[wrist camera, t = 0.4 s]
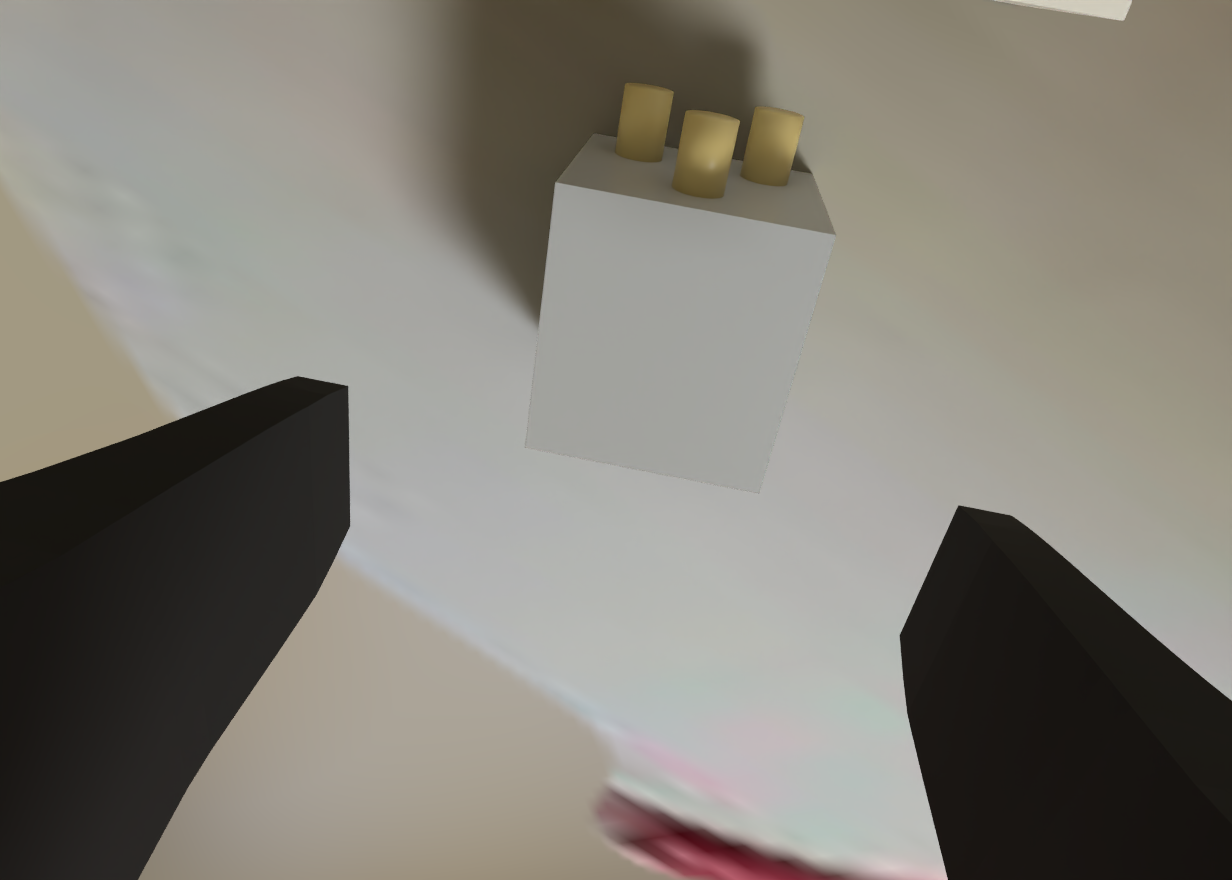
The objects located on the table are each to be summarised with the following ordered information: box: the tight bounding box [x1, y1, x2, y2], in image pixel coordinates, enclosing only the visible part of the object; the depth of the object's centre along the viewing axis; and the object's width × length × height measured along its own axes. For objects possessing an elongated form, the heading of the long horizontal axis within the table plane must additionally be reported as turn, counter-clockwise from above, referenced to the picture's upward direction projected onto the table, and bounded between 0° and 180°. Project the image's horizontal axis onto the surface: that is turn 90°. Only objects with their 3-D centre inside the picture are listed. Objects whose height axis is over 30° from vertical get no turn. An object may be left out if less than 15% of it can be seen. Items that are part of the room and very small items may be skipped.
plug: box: [525, 83, 836, 494], centre depth 16 cm, size 4×6×4 cm
